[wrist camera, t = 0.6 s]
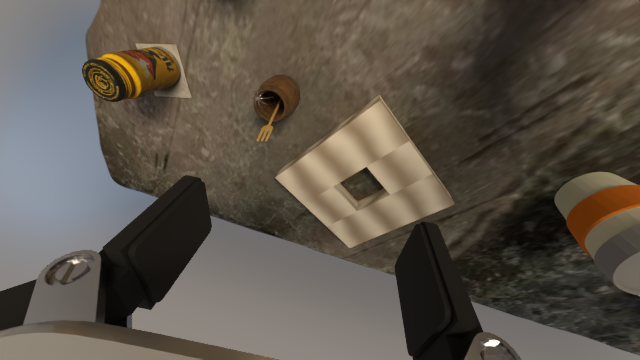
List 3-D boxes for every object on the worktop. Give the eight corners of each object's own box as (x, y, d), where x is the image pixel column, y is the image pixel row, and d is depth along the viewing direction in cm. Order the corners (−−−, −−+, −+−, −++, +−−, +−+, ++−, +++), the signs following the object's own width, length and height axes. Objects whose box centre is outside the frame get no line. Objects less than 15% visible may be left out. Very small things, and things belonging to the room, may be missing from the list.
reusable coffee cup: (616, 218, 42) (715, 300, 30) (533, 221, 46) (593, 295, 33) (654, 158, 36) (802, 231, 24) (554, 166, 39) (638, 234, 27)
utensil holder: (299, 72, 37) (274, 92, 27) (303, 111, 41) (282, 141, 31) (263, 73, 38) (228, 93, 28) (270, 111, 42) (241, 141, 32)
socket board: (379, 94, 37) (380, 100, 35) (450, 194, 45) (454, 204, 43) (279, 169, 49) (275, 177, 46) (350, 238, 57) (349, 248, 54)
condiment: (176, 44, 38) (110, 54, 28) (192, 97, 43) (140, 122, 33) (136, 43, 39) (59, 52, 29) (156, 95, 44) (96, 118, 34)
